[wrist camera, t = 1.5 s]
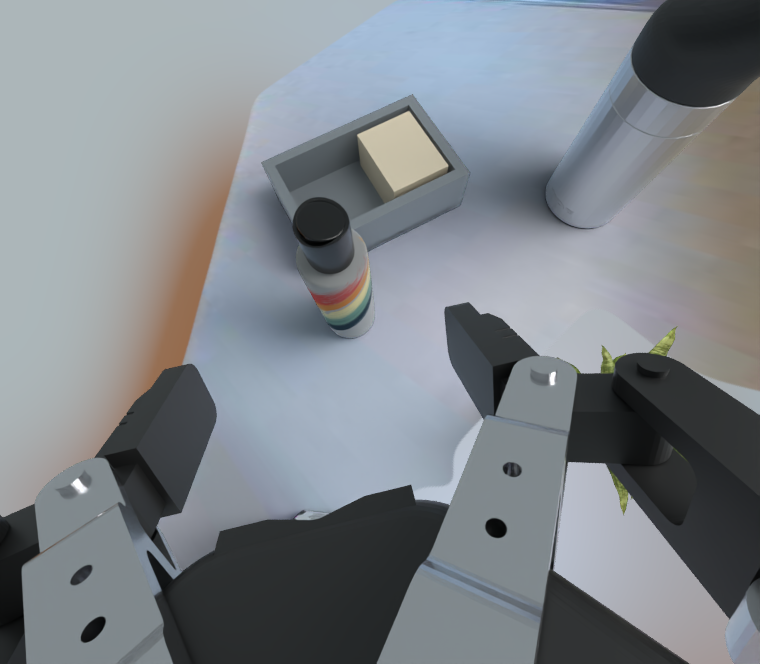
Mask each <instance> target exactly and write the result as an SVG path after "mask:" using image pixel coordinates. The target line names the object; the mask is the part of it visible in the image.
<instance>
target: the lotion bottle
mask: <svg viewBox="0 0 760 664" xmlns="http://www.w3.org/2000/svg"><path fill="white" fill-rule="evenodd" d="M293 231H294V234H295V237H296V239H297V241H298V243H299V245H298V248H297V252H296V264H297V268H298V271H299V273H300V275H301V277H302V279H303V281H304V282H305V284H306V286H307V288H308V290H309V291H310V293H311V295H312V297H313V298H314V300H315V302H316V304H317V306H318V307H319V309H320V311H321V313H322V315H323V316H324V318H325V320H326V322H327V323H328V325H329V326H330V328H331V329H332V330H333V331H334V332H335V333H336V334H337V335H339V336H342V337H345V338H356V337H359V336H362V335H363V334H365V333H366V332H367V331H368V330H369V329H370V328H371V326H372V325H373V322H374V318H375V307H374V299H373V291H372V283H371V275H370V266H369V259H368V252H367V248H366V245H365V243H364V241H363V239H362V238H361V236H360V235H359V234H358V233H357V232H356V231H354V230H353V229H351V226H350V221H349V217H348V214H347V212H346V211H345V209H344V208H343V207H342V206H341V205H340V204H339V203H337V202H335V201H334V200H331V199H329V198H325V197H314V198H310V199H308V200H306V201H304V202H303V203H302V204H301V205H300V206H299V207H298V208H297V210H296V212H295V214H294V217H293Z"/></svg>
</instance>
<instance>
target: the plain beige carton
mask: <svg viewBox="0 0 760 664" xmlns="http://www.w3.org/2000/svg"><path fill="white" fill-rule="evenodd" d="M357 139H358V148H359V157H360V165H361V167H362V169H363V170H364V172H365V173H366V175H367V176H368V178H369V180H370V181H371V183H372V184H373V186H374V187H375V189H376V191H377V192H378V194H379V195H380V197H381V199H382V200H383V202H384V203H387V202H389V201H391V200H393V199H395V198H397V197H400V196H402V195H404V194H406V193H408V192H410V191H412V190H414V189H416V188H418V187H420V186H422V185H424V184H426V183H429V182H431V181H433V180H435V179H437V178H439V177H441V176H443V175H445V174H447V171H448V164H447V163H446V161H445V160H444V159H443V157H442V156H441V154H440V153H439V152H438V150H437V149H436V148H435V146H434V145H433V143H432V142H431V141H430V139H429V138H428V136H427V135H426V134H425V132H424V131H423V129H422V128H421V127H420V125H419V124H418V122H417V121H416V120H415V118H414V117H413V116H412V114H411V113H410V111H408V112H406V113H403V114H401V115H399V116H397V117H395V118H392V119H390V120H388V121H386V122H384V123H382V124H379V125H377V126H375V127H373V128H371V129H368V130H366V131H364V132H362V133H360V134H357Z"/></svg>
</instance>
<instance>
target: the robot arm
mask: <svg viewBox="0 0 760 664" xmlns="http://www.w3.org/2000/svg"><path fill="white" fill-rule="evenodd" d="M758 77H760V0H666V1H665V2H664V3H663V4H662V5H661V6H660V7H659V8H658V9H657V10H656V11H655V12H654V13H653V15H652V16H651V18H650V19H649V20H648V22H647V23H646V25H645V26H644V28H643V30H642V31H641V33H640V35H639V36H638V38H637V39H636V41H635V43H634V44H633V46H632V48H631V49H630V51H629V53H628V54H627V56H626V57H625V59H624V61H623V62H622V64H621V65H620V67H619V69H618V70H617V72H616V73H615V75H614V77H613V79H612V80H611V82H610V83H609V85H608V87H607V88H606V90H605V91H604V93H603V95H602V96H601V98H600V99H599V101H598V103H597V104H596V106H595V107H594V109H593V111H592V112H591V114H590V115H589V117H588V119H587V120H586V122H585V123H584V125H583V127H582V128H581V130H580V131H579V133H578V135H577V136H576V138H575V139H574V141H573V143H572V144H571V146H570V147H569V149H568V151H567V152H566V154H565V155H564V157H563V159H562V160H561V162H560V163H559V165H558V167H557V168H556V170H555V171H554V173H553V175H552V176H551V178H550V179H549V181H548V184H547V186H546V192H545V194H546V200H547V203H548V206H549V207H550V209H551V211H552V212H553V213H554V214H555V215H556V216H557V217H558V218H559V219H561V220H562V221H563V222H565V223H567V224H569V225H572V226H575V227H579V228H596V227H599V226H602V225H604V224H606V223H608V222H609V221H610V220H612V219H613V218H614V217H615V216H616V215H617V214H618V213H619V212H620V211H621V210H622V209H623V208H624V207H625V206H626V205H627V204H628V203H629V202H630V201H631V200H632V199H633V198H635V197H636V196H637V195H638V194H639V193H640V192H641V191H642V190H643V189H644V188H645V187H646V186H647V185H648V184H649V183H650V182H651V181H652V180H653V179H654V178H655V177H656V176H657V175H658V174H659V173H660V172H661V171H662V170H663V169H664V168H665V167H666V166H667V165H668V164H669V163H670V162H671V161H672V160H673V159H675V158H676V157H677V156H678V155H679V154H680V153H681V152H682V151H683V150H684V149H685V148H686V147H687V146H688V145H689V144H690V143H691V142H692V141H693V140H694V139H695V138H696V137H697V136H698V135H699V134H700V133H701V132H702V131H703V130H704V129H705V128H706V127H707V126H708V125H709V124H710V123H711V122H712V121H713V120H714V119H715V118H716V117H717V116H718V115H719V114H720V113H721V112H722V111H723V110H725V109H726V108H727V107H728V106H729V105H730V104H731V103H732V102H733V101H734V100H735V99H736V98H737V97H738V96H739V95H740V94H741V93H742V92H743V91H744V90H745V89H746V88H747V87H748V86H749V85H750V84H751V83H752V82H753V81H754V80H756V79H757V78H758ZM444 314H445V325H446V335H447V345H448V353H449V357H450V361H451V364H452V366H453V368H454V370H455V372H456V373H457V375H458V377H459V378H460V380H461V382H462V383H463V385H464V387H465V389H466V390H467V392H468V394H469V395H470V397H471V399H472V401H473V402H474V404H475V406H476V407H477V409H478V411H479V412H480V414H481V416H482V418H483V419H484V422H483V424H482V426H481V429H480V432H479V434H478V436H477V439H476V441H475V444H474V446H473V449H472V451H471V454H470V456H469V459H468V461H467V464H466V466H465V469H464V471H463V474H462V476H461V479H460V481H459V484H458V486H457V489H456V491H455V494H454V496H453V499H452V501H451V504H450V505H448V504H445V503H441V502H437V501H429V500H415V498H414V494H413V490H412V486H411V485H408V486H404V487H400V488H396V489H392V490H388V491H384V492H380V493H375V494H371V495H367V496H364V497H362V498H360V499H358V500H356V501H354V502H352V503H350V504H348V505H346V506H344V507H342V508H340V509H338V510H336V511H334V512H332V513H330V514H327V515H325V516H323V517H321V518H319V519H315V520H265V521H261V522H257V523H252V524H248V525H244V526H240V527H236V528H232V529H228V530H224V531H220V533H219V537H218V541H217V544H216V548H215V551H213V552H211V553H209V554H207V555H206V556H204V557H202V558H201V559H199V560H197V561H196V562H195V563H193V564H192V565H190V566H189V567H188V568H186V569H185V570H184V571H183V572H181V570H180V568H179V566H178V564H177V562H176V560H175V558H174V556H173V554H172V552H171V549H170V547H169V545H168V543H167V541H166V539H165V537H164V535H163V533H162V532H161V531H160V529H159V528H158V527H157V524H158V522H159V519H160V518H162V517H166V516H170V515H174V514H178V513H181V512H182V509H183V507H184V504H185V501H186V499H187V496H188V494H189V491H190V488H191V486H192V483H193V480H194V478H195V475H196V473H197V470H198V467H199V465H200V462H201V459H202V457H203V454H204V452H205V449H206V446H207V444H208V441H209V438H210V436H211V433H212V431H213V428H214V425H215V423H216V417H217V413H216V407H215V404H214V401H213V399H212V397H211V395H210V393H209V391H208V389H207V387H206V386H205V384H204V382H203V380H202V378H201V376H200V374H199V372H198V370H197V368H196V367H195V366H194V365H193V364H187V365H182V366H178V367H173V368H169V369H165V370H164V371H163V372H162V373H161V375H160V376H159V378H158V379H157V380H156V382H155V383H154V385H153V386H152V387H151V389H149V390H148V391H147V392H146V393H144V394H143V395H142V396H141V397H140V398H139V399H137V400H136V401H135V402H134V404H133V405H132V406H131V408H130V409H129V411H128V412H127V415H126V416H124V418H123V419H122V420H121V422H120V423H119V426H117V427H116V429H115V430H114V431H113V433H112V434H111V436H110V437H109V438H108V440H107V441H106V442H105V444H104V445H103V447H102V448H101V450H100V451H99V452H98V453H97V455H96V456H95V458H92V459H88V460H85V461H82V462H80V463H77V464H75V465H73V466H71V467H69V468H68V469H66V470H64V471H63V472H61V473H60V474H58V475H57V476H56V477H54V478H53V479H52V480H51V481H50V482H49V483H47V484H46V486H45V487H44V488H43V489H42V490H41V491H40V493H39V494H38V496H37V498H36V500H35V504H33V505H31V506H29V507H26V508H24V509H22V510H20V511H17V512H15V513H12V514H10V515H8V516H6V517H2V516H1V515H0V664H689V663H688V662H686V661H685V660H683V659H682V658H680V657H679V656H677V655H676V654H674V653H673V652H671V651H670V650H669V649H667V648H666V647H664V646H663V645H661V644H660V643H658V642H657V641H655V640H654V639H653V638H651V637H649V636H648V635H647V634H645V633H644V632H642V631H641V630H639V629H638V628H636V627H635V626H633V625H632V624H630V623H629V622H628V621H626V620H625V619H623V618H622V617H620V616H619V615H617V614H616V613H614V612H613V611H612V610H610V609H609V608H607V607H606V606H604V605H602V604H601V603H600V602H598V601H597V600H595V599H594V598H593V597H591V596H590V595H588V594H587V593H585V592H584V591H582V590H581V589H579V588H578V587H576V586H575V585H574V584H572V583H570V582H569V581H568V580H566V579H565V578H563V577H562V576H560V575H559V574H557V573H556V572H554V566H555V558H556V550H557V542H558V533H559V525H560V517H561V510H562V503H563V495H564V488H565V481H566V472H567V466H568V462H584V463H585V462H586V463H605V464H606V465H607V466H608V467H609V469H610V470H611V471H612V472H613V474H614V475H615V476H616V477H617V479H618V480H619V481H620V482H621V484H622V485H623V486H624V487H625V489H626V490H627V491H628V493H629V494H630V495H631V496H632V498H633V499H634V500H635V501H636V503H637V504H638V505H639V506H640V508H641V509H642V510H643V511H644V512H645V514H646V515H647V516H648V518H649V519H650V520H651V521H652V523H653V524H654V525H655V526H656V528H657V529H658V530H659V531H660V533H661V534H662V535H663V536H664V538H665V539H666V540H667V541H668V543H669V544H670V545H671V546H672V548H673V549H674V550H675V551H676V553H677V554H678V555H679V556H680V558H681V559H682V560H683V561H684V563H685V564H686V565H687V567H688V568H689V569H690V570H691V572H692V573H693V574H694V575H695V577H697V579H698V580H699V582H700V583H701V584H702V585H703V587H704V588H705V589H706V590H707V592H708V593H709V594H710V595H711V597H712V598H713V599H714V600H715V602H716V603H717V604H718V605H719V607H720V608H721V609H722V610H723V612H725V614H726V615H727V617H728V618H729V619H730V620H729V622H728V624H727V627H726V632H725V639H726V645H727V648H728V652H729V655H730V657H731V659H732V661H733V663H734V664H760V415H758V414H757V413H755V412H754V411H753V410H751V409H749V408H748V407H747V406H745V405H744V404H742V403H741V402H739V401H738V400H736V399H734V398H733V397H732V396H730V395H729V394H727V393H726V392H724V391H723V390H721V389H720V388H718V387H717V386H715V385H714V384H712V383H711V382H709V381H708V380H706V379H705V378H703V377H702V376H700V375H699V374H697V373H696V372H694V371H693V370H691V369H690V368H688V367H687V366H685V365H684V364H682V363H680V362H679V361H677V360H674V359H672V358H669V357H666V356H662V355H658V354H651V353H633V354H628V355H625V356H622V357H621V358H619V359H618V360H617V361H616V363H615V368H614V373H599V374H598V373H595V374H580V373H576V370H575V369H574V368H573V367H572V366H571V365H570V364H569V363H567V362H565V361H563V360H561V359H558V358H554V357H548V356H539V355H538V354H537V353H536V352H535V351H534V350H533V349H532V348H531V347H530V346H529V345H528V344H527V343H526V342H525V341H524V340H523V339H522V338H521V337H520V336H519V335H518V336H517V333H516V332H515V331H514V330H513V329H510V326H508V325H507V324H506V323H505V322H504V321H503V320H502V319H501V318H498V317H496V316H494V315H491V314H489V313H487V314H482V315H480V314H479V313H478V311H477V310H476V309H475V308H474V307H473V306H472V305H471V304H470V303H469V302H467V303H462V304H458V305H453V306H449V307H446V308H445V311H444ZM673 448H675V449H676V450H677V451H678V452H679V453H680V454H681V455H682V456H683V457H684V458H685V459H686V460H687V461H688V462H687V461H686V460H685V459H684V458H683V457H682V456H681V455H680V454H679V453H678V452H677V451H676V450H675V449H673Z"/></svg>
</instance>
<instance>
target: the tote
mask: <svg viewBox="0 0 760 664" xmlns="http://www.w3.org/2000/svg"><path fill="white" fill-rule="evenodd" d="M408 111H410V113H411V114H412V116H413V117H414V118H415V120H416V121H417V122H418V124H419V125H420V127H421V128H422V129H423V131H424V132H425V134H426V135H427V136H428V138H429V139H430V141H431V142H432V143H433V145H434V146H435V148H436V149H437V150H438V152H439V153H440V154H441V156H442V157H443V159H444V160H445V161H446V163H447V164H448V171H447V174H445V175H443V176H441V177H439V178H437V179H435V180H433V181H431V182H429V183H426V184H424V185H422V186H420V187H418V188H416V189H414V190H412V191H410V192H408V193H406V194H404V195H402V196H400V197H397V198H395V199H393V200H391V201H389V202H387V203H384V202H383V200H382V199H381V197H380V195H379V194H378V192H377V191H376V189H375V187H374V186H373V184H372V183H371V181H370V180H369V178H368V176H367V175H366V173H365V172H364V170H363V169H362V167H361V165H360V157H359V148H358V139H357V134H360V133H362V132H364V131H366V130H368V129H371V128H373V127H375V126H377V125H379V124H382V123H384V122H386V121H388V120H390V119H392V118H395V117H397V116H399V115H401V114H403V113H406V112H408ZM261 163H262V165H263V167H264V169H265V172H266V174H267V176H268V178H269V180H270V182H271V184H272V186H273V188H274V191H275V193H276V195H277V197H278V199H279V200H280V202H281V204H282V206H283V208H284V210H285V212H286V213H287V215H288V217H289V219H290V221H291V223H292V225H293V217H294V214H295V212H296V210H297V208H298V207H299V206H300V205H301V204H302V203H303V202H304V201H306V200H308V199H310V198H314V197H325V198H329V199H331V200H334V201H335V202H337V203H339V204H340V205H341V206H342V207H343V208H344V209H345V211H346V212H347V214H348V217H349V221H350V226H351V229H353V230H354V231H356V232H357V233H358V234H359V235H360V236H361V238H362V239H363V241H364V243H365V245H366V248H367V252H368V251H370V250H372V249H374V248H376V247H378V246H380V245H382V244H384V243H386V242H388V241H390V240H392V239H394V238H396V237H398V236H400V235H402V234H404V233H406V232H408V231H410V230H412V229H414V228H416V227H418V226H420V225H422V224H424V223H426V222H428V221H430V220H432V219H434V218H436V217H438V216H440V215H442V214H444V213H446V212H448V211H450V210H452V209H454V208H456V207H458V206H460V205H461V202H462V198H463V195H464V192H465V189H466V185H467V182H468V179H469V175H470V172H469V170H468V169H467V168H466V166H465V165H464V164H463V162H462V161H461V160H460V158H459V157H458V156H457V154H456V153H455V151H454V150H453V149H452V147H451V146H450V145H449V143H448V142H447V141H446V139H445V138H444V136H443V135H442V134H441V132H440V131H439V130H438V128H437V127H436V126H435V124H434V123H433V121H432V120H431V119H430V117H429V116H428V115H427V113H426V112H425V111H424V109H423V108H422V106H421V105H420V104H419V102H418V101H417V100H416V98H415V97H414V96H413V94H412V95H410V96H408V97H405V98H403V99H401V100H399V101H396V102H394V103H392V104H390V105H388V106H385V107H383V108H381V109H379V110H376V111H374V112H372V113H370V114H368V115H365V116H363V117H361V118H359V119H357V120H354V121H352V122H350V123H348V124H345V125H343V126H341V127H339V128H337V129H334V130H332V131H330V132H328V133H325V134H323V135H321V136H319V137H317V138H314V139H312V140H310V141H308V142H306V143H303V144H301V145H299V146H297V147H294V148H292V149H290V150H288V151H286V152H283V153H281V154H279V155H277V156H274V157H272V158H270V159H268V160H266V161H263V162H261Z"/></svg>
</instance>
